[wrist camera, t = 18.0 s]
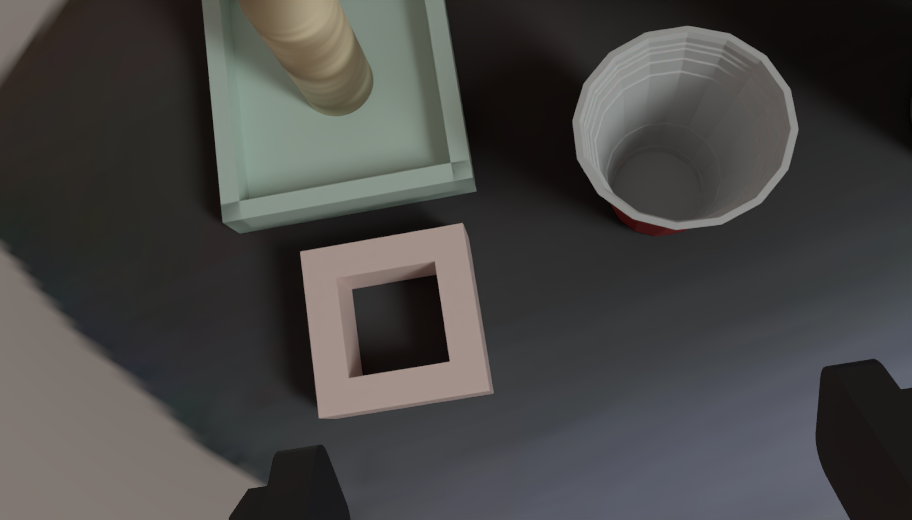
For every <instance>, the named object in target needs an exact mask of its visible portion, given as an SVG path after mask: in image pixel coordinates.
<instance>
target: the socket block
mask: <svg viewBox="0 0 912 520" xmlns="http://www.w3.org/2000/svg"><path fill="white" fill-rule="evenodd" d="M300 255H301V264H302V272H303V281H304V290H305V299H306V308H307V316H308V325H309V334H310V343H311V351H312V360H313V369H314V378H315V387H316V395H317V404H318V413H319V418H329V419H338V418H344V417H350V416H356V415H363V414H369V413H375V412H381V411H388V410H394V409H400V408H406V407H413V406H419V405H425V404H431V403H438V402H444V401H450V400H456V399H462V398H469V397H475V396H481V395H487V394H494V392H493V385H492V379H491V373H490V367H489V361H488V354H487V348H486V342H485V336H484V330H483V324H482V317H481V311H480V305H479V299H478V293H477V286H476V280H475V274H474V268H473V262H472V255H471V249H470V243H469V238H468V235H467V233H466V230H465V227H464V225H463V223H460V224H454V225H449V226H443V227H437V228H432V229H426V230H420V231H415V232H409V233H403V234H398V235H392V236H386V237H381V238H375V239H369V240H364V241H358V242H352V243H347V244H341V245H335V246H329V247H324V248H318V249H312V250H307V251H301V252H300ZM431 275H437V279H438V286H439V293H440V299H441V306H442V313H443V319H444V326H445V332H446V339H447V346H448V352H449V359H450V362H445V363H438V364H432V365H426V366H420V367H414V368H408V369H402V370H396V371H390V372H384V373H377V374H371V375H365V376H363V374H362V366H361V358H360V351H359V343H358V335H357V327H356V319H355V311H354V303H353V295H352V289H356V288H361V287H367V286H373V285H379V284H385V283H391V282H396V281H402V280H408V279H414V278H420V277H426V276H431Z"/></svg>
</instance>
